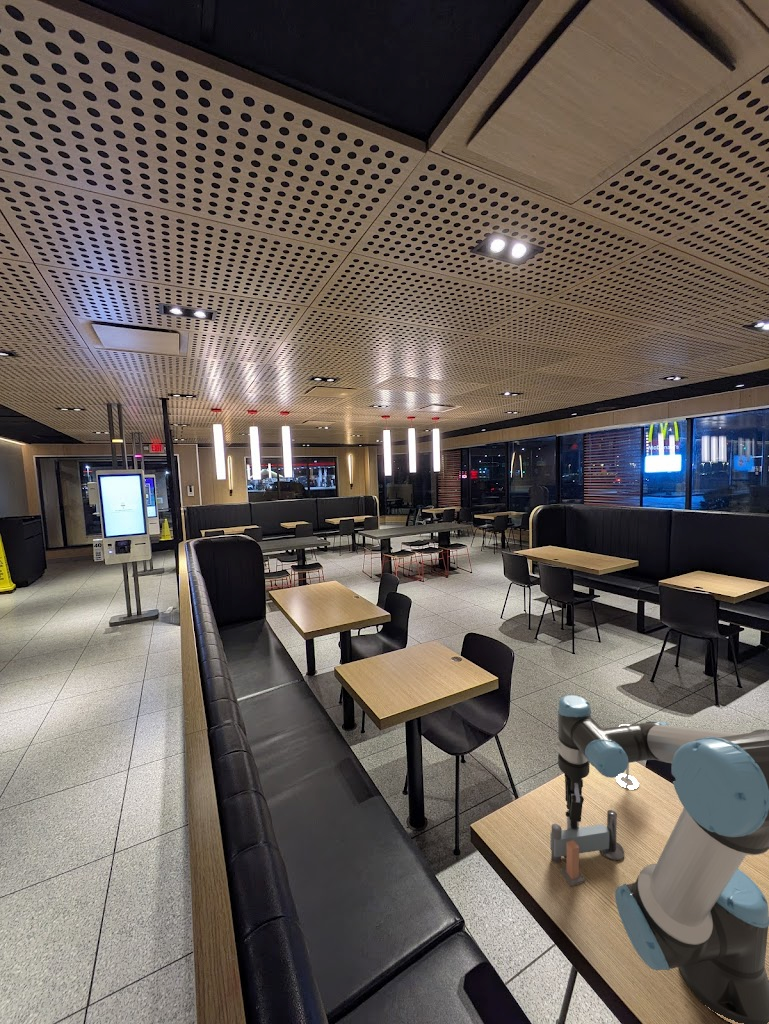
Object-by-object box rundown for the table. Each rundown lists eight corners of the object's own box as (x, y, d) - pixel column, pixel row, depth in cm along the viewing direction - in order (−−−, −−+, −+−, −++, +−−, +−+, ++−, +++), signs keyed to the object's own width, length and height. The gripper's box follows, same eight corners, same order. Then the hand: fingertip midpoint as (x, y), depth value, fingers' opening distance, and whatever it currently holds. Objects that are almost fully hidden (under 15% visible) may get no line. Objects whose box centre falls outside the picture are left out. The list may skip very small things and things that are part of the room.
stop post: (584, 881, 104) (585, 849, 103) (571, 886, 103) (571, 854, 101) (573, 866, 108) (573, 835, 106) (560, 871, 106) (560, 840, 105)
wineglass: (606, 778, 136) (608, 727, 133) (623, 769, 139) (625, 719, 137) (630, 795, 128) (632, 742, 126) (647, 786, 132) (649, 733, 130)
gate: (603, 846, 112) (603, 816, 111) (608, 854, 110) (609, 823, 109) (549, 854, 111) (549, 824, 110) (554, 863, 108) (554, 832, 107)
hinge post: (629, 857, 109) (630, 819, 108) (611, 864, 108) (612, 826, 106) (611, 837, 115) (612, 801, 114) (593, 843, 113) (594, 807, 112)
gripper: (554, 736, 116) (554, 812, 119) (562, 771, 104) (561, 854, 107) (583, 740, 114) (582, 816, 117) (595, 775, 102) (593, 859, 105)
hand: (572, 834), depth 112 cm, fingers closed
